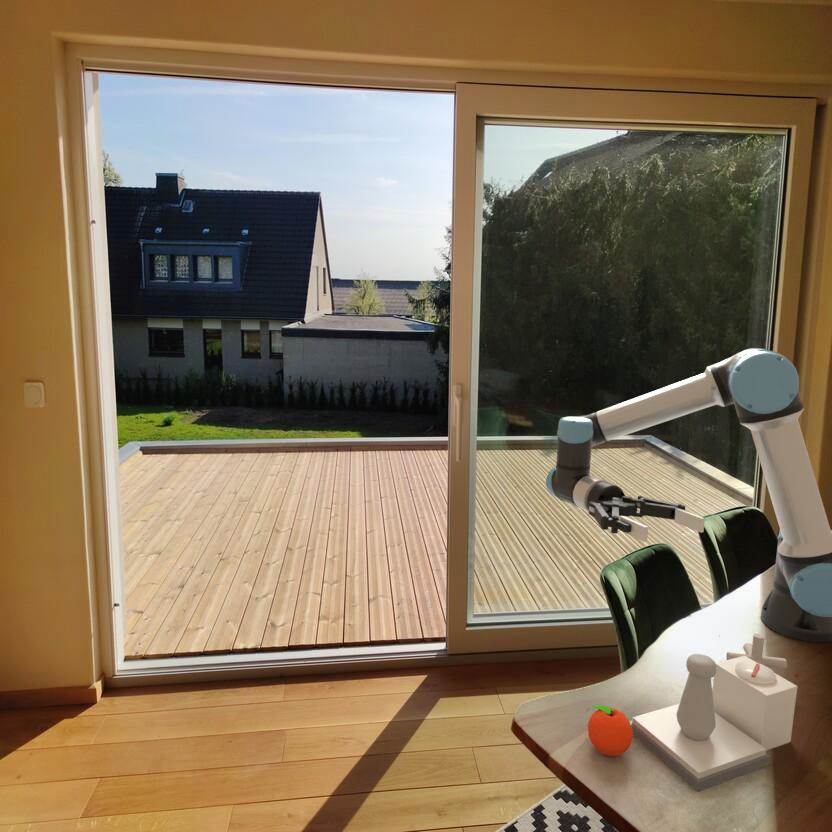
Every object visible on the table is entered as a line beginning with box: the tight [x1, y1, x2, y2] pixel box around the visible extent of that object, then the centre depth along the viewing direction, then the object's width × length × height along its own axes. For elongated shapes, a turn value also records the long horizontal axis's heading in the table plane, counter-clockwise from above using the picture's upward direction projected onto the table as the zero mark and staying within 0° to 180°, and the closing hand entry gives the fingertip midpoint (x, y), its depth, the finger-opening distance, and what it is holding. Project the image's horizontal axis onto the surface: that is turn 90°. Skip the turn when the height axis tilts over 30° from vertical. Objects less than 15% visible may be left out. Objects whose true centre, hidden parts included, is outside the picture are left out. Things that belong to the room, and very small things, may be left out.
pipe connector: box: [725, 633, 788, 670], centre depth 120 cm, size 10×10×10 cm
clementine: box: [585, 704, 634, 756], centre depth 102 cm, size 8×7×7 cm
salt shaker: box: [676, 653, 716, 741], centre depth 102 cm, size 6×6×13 cm
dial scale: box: [629, 656, 798, 792], centre depth 104 cm, size 23×15×11 cm, turn 113°
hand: (675, 529), depth 117 cm, fingers open, 13 cm apart
